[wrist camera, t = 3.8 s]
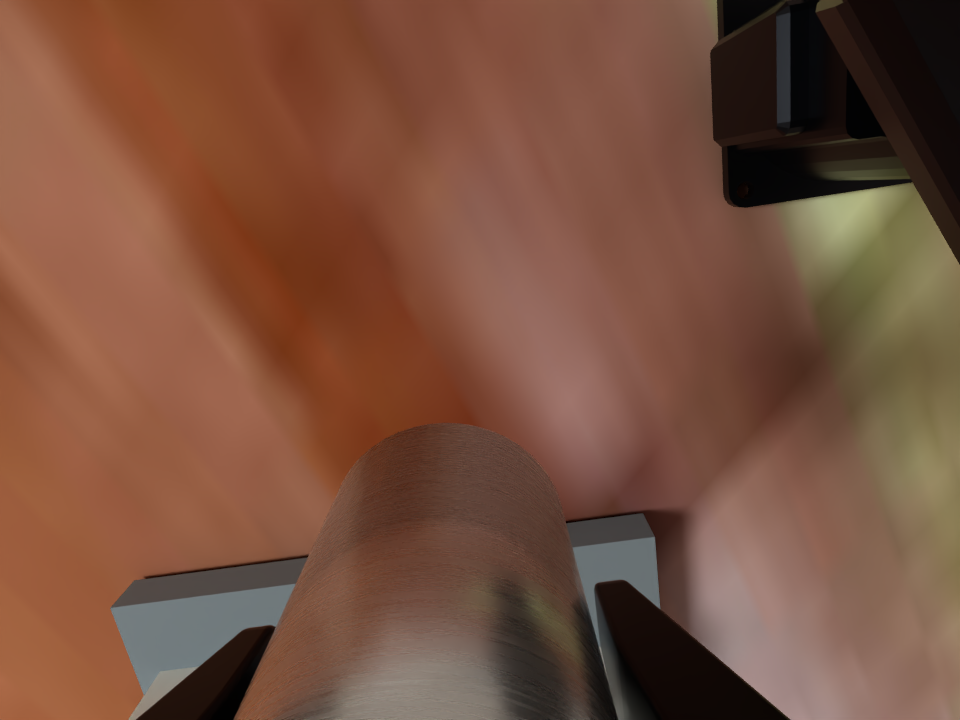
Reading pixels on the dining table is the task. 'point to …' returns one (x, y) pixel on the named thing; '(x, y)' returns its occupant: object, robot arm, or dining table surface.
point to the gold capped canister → (437, 595)
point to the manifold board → (267, 588)
